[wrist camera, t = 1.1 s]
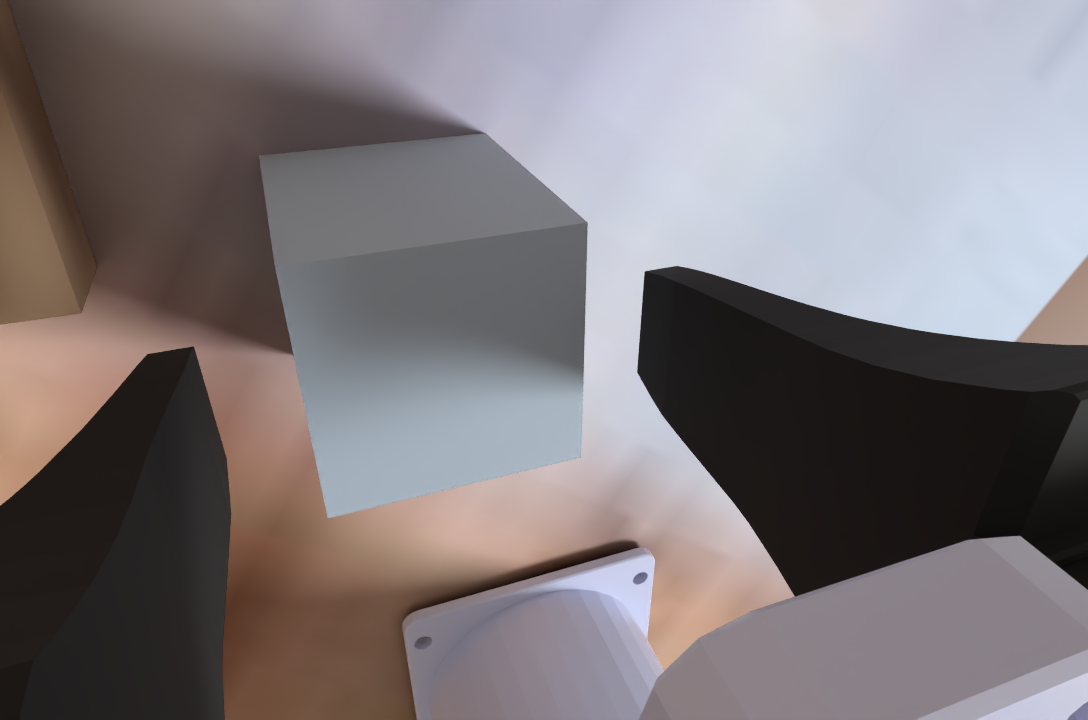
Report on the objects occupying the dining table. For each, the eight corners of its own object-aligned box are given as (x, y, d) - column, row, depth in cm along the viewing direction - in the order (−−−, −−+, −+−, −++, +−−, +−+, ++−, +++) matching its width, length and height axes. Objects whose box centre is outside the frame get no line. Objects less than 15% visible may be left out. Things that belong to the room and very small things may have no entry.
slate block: (493, 321, 18) (581, 457, 14) (300, 355, 17) (327, 518, 12) (484, 132, 16) (587, 222, 11) (258, 154, 14) (274, 266, 10)
